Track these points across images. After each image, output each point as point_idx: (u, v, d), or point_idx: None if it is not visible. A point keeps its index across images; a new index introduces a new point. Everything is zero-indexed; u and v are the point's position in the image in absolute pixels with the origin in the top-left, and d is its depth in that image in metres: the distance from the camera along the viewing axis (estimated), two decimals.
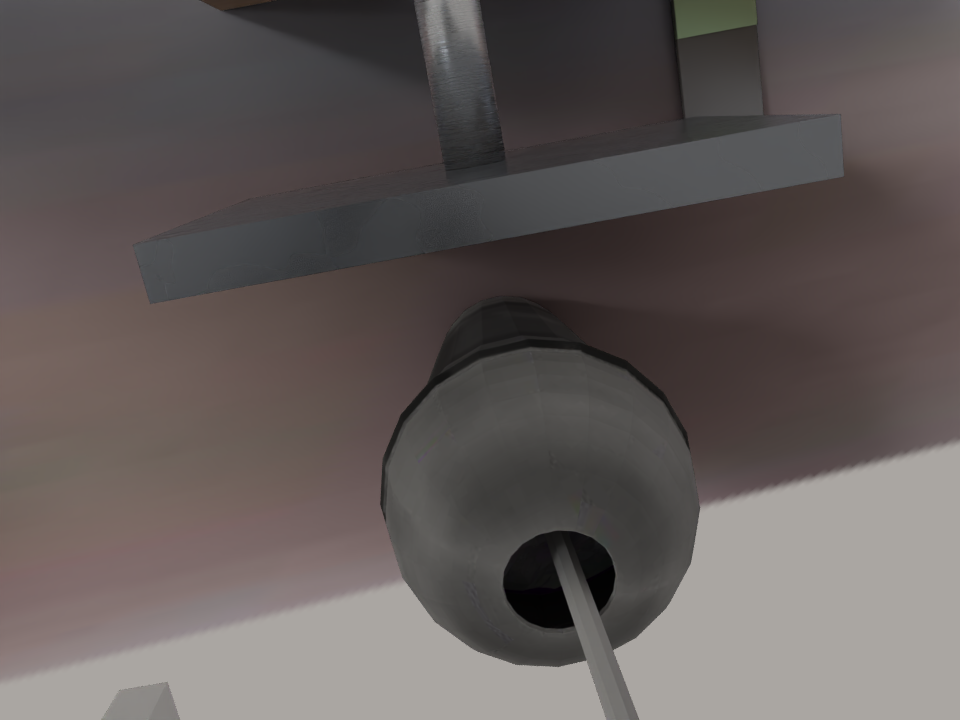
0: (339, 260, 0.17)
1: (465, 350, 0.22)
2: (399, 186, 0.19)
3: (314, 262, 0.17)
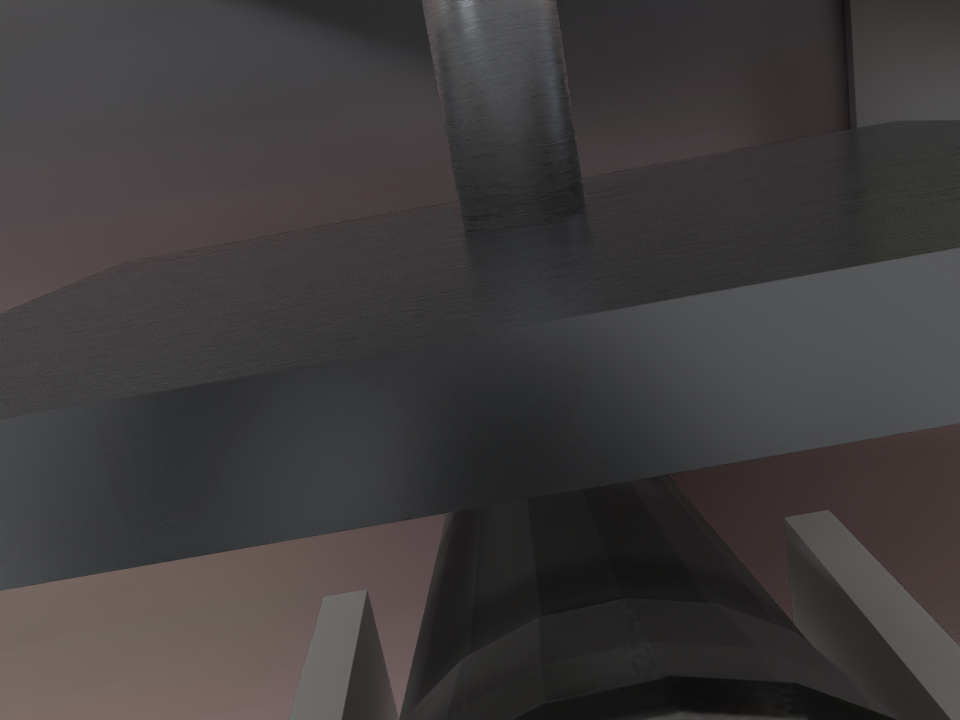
0: (163, 539, 0.06)
1: (501, 594, 0.11)
2: (358, 286, 0.08)
3: (90, 545, 0.06)
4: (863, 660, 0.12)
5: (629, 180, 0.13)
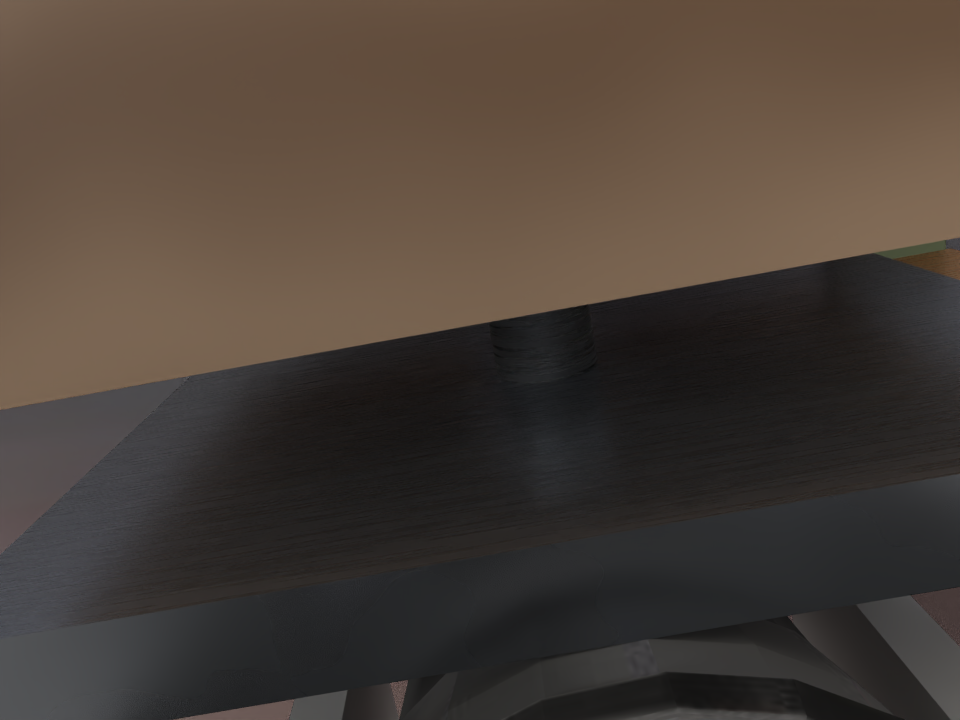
0: (309, 681, 0.08)
1: None
2: (426, 458, 0.11)
3: (258, 686, 0.08)
4: (863, 660, 0.12)
5: (632, 314, 0.16)
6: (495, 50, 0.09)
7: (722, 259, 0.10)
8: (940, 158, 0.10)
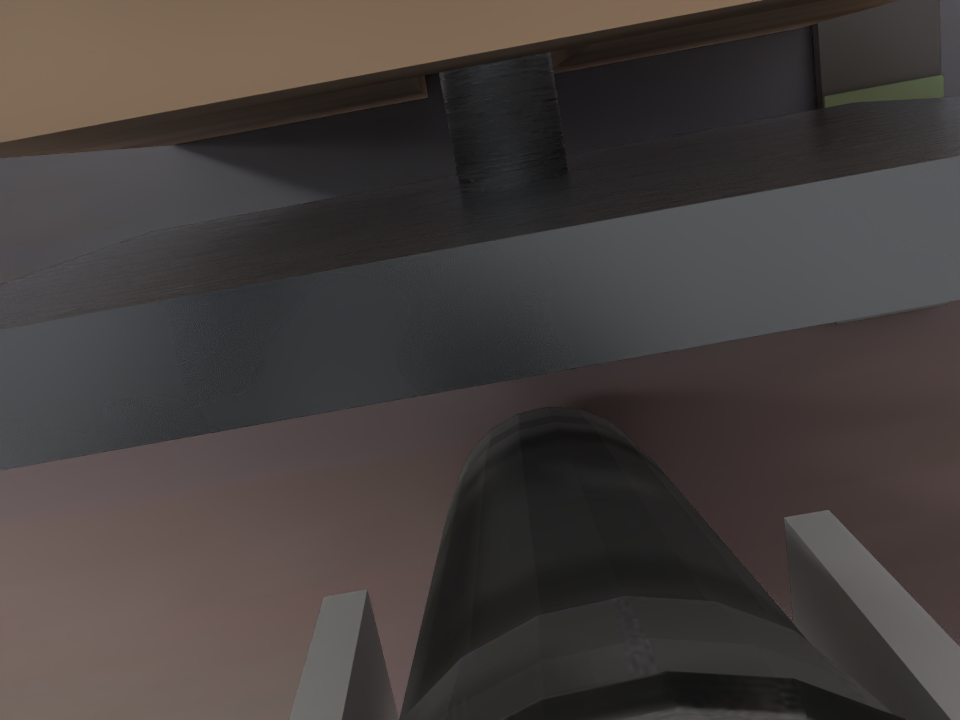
0: (219, 412, 0.07)
1: (501, 593, 0.11)
2: (370, 228, 0.10)
3: (161, 416, 0.07)
4: (863, 661, 0.12)
5: (610, 153, 0.15)
6: None
7: None
8: None
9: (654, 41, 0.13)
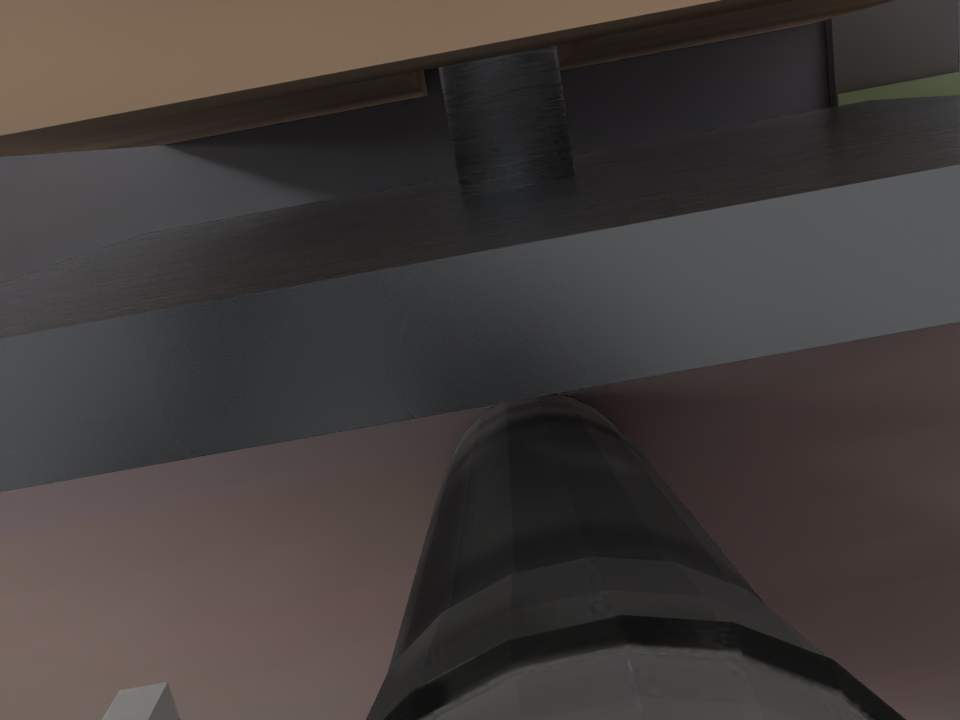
0: (197, 436, 0.07)
1: (481, 558, 0.12)
2: (365, 234, 0.09)
3: (134, 441, 0.07)
4: None
5: (617, 153, 0.14)
6: None
7: None
8: None
9: (665, 35, 0.12)
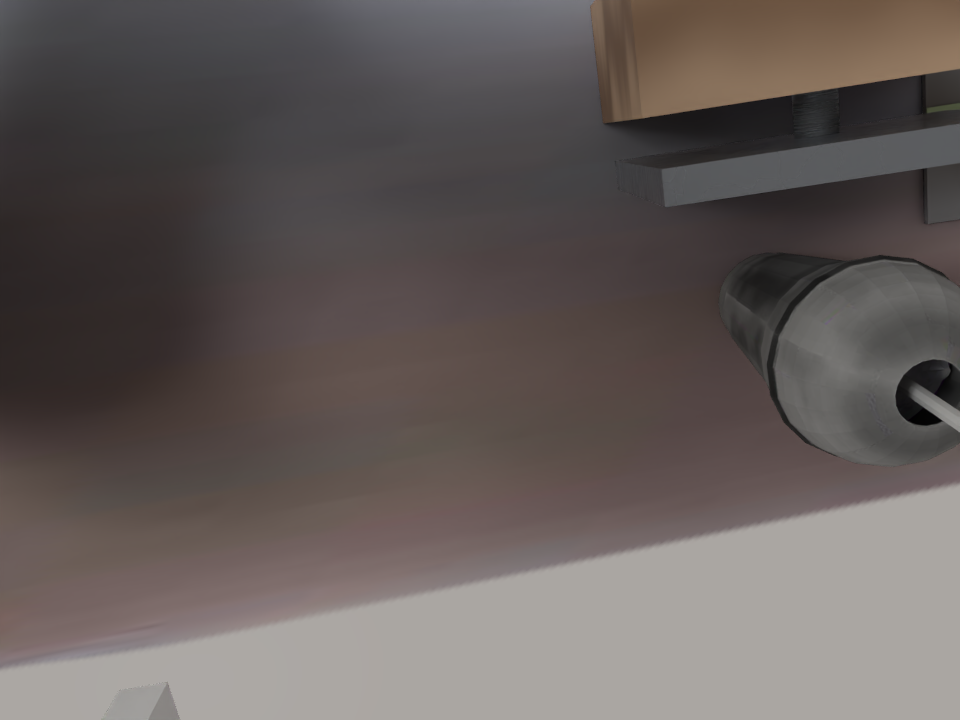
0: (787, 183, 0.27)
1: (801, 272, 0.32)
2: (795, 143, 0.29)
3: (772, 184, 0.27)
4: None
5: (840, 128, 0.34)
6: None
7: (912, 68, 0.28)
8: None
9: None
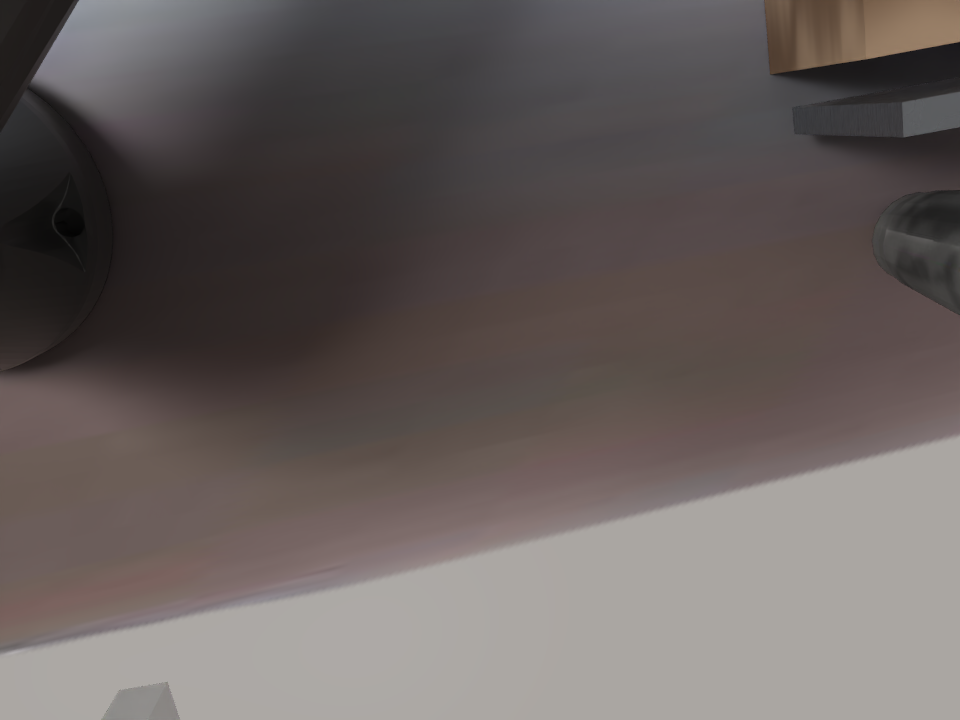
0: None
1: None
2: None
3: None
4: None
5: None
6: None
7: None
8: None
9: None
